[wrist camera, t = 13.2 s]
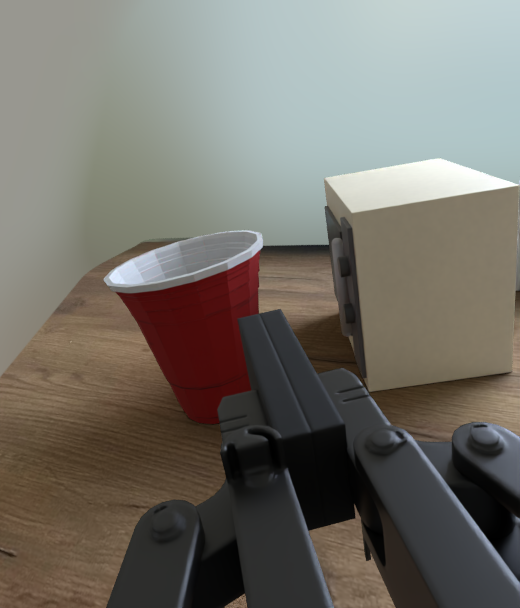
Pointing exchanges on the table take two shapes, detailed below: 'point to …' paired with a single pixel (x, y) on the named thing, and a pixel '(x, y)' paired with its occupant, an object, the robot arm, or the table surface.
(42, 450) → the table surface
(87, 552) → the table surface
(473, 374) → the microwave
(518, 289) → the icon cube
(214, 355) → the plastic cup
